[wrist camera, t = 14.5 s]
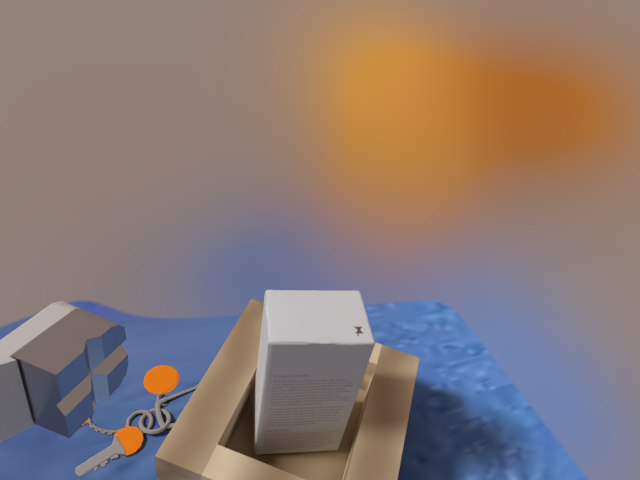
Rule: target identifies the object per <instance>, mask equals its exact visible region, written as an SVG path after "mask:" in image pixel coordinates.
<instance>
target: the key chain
mask: <svg viewBox="0 0 640 480" xmlns="http://www.w3.org/2000/svg"><path fill="white" fill-rule="evenodd" d="M178 382H179V375H178V372H177V371H176V370H175V369H174V368H173V367H170V366H168V365H160V366H156V367H154V368H152V369H151V370H149V371H148V372H147V374H146V375H145V377H144V386H145V388H146V389H147V390H148V391H149V392H151V393H154V394H159V395H158V396H157V401H156V402H155V408H154V409H150V410H148V411H146V410H138V411H135V412H134V413H132V414H131V415H130V416H129V417H128V419H127V420H126V427H125V428H122V429H120V430H115V431H113V430H108V431H107V430H105V429H101V428H99V427H98V426H97V427H96V426H95V424H94V423H91V420H90V418H89V419H88V420H87V421H86V422H85V423H84V424H83V425H82V426H84V425H85V424H86V423H87V424H90V425H89V426H90V427H91V428H94V430H95V431H97V432H98V431H100V433H102V434H105V433H107V435H112V434H113V433H115V434H114V439H113V442H112V445H110V446H109V447H107V448H106V449H104V450H103V451H101V452H99V453H98V454H96V455H95V456H93V457H92V458H90V459H88V460H87V461H85V462H84V463H82V464H80V465H79V466H77V467H76V468H75V473H76V474H77V475H78V476H82V475H84V474H85V473H87V472H89V471H91V470H92V469H94V470H97V469H98V467H97V466H99V465H101V466H102V467H104V466H105V464H106V463H108V461H107V460H109V459H110V458H111V460H113V459H114V458H115V459H117V458H118V457H119V456H118V455H126V457H127V456H130V455H132V454H135V453H136V452H137V451H138V450H139V449H140V448H141V446H142V443H143V440H144V438H143V434H145V433H147V434H158V433H160V432H162V431H164V430H165V429H170V428H172V427H173V426H174V424H175V423H170V422H171V419H172V418H171V415H170V413H169V412H168V411H167V410H165V409H162V408H160V406H161V405H162V406H167V405H168V404H163V403H165V402H166V401H167V400H170V399H172V398H175V397H177V396H180V395H182V394H185V393H187V392H190V391H192V390H195V389H196V388H197V387H198V385H199V384H198V385H197V386H195V387H192V388H190V389H187V390H185V391H182V392H179V393H177V394H174V395H172V396H169V397H167V398H165V397H164V398H162V399H160V400H159V397H160V396H161V395H165V396H166V395H167V394H165V393H167V392H170V391H171V390H172V389H174V388H175V387H176V385H177V384H178ZM154 412H156V417H157V420H158V423H159V425H160V428H158V429H153V430H150V428H151V427H152V425H153V420H154V419H153V416H152V414H151V413H154ZM141 413H142V414H143V415H142V416H141V417H140V420H139V423H138V424H139V429H138V428H137V427H133V426H130V420H131V419H132V418H133V417H134V416H135V415H137V414H141ZM161 413H164V414H165V415H166V418H167V421H166V423H164V421H163V418H162V414H161ZM147 416H148V417H149V420H150V421H149V425H148V427H147V428H145V427H144V424H143V421H144V419H145V418H146V417H147ZM82 426H81V427H82ZM141 430H142V431H141ZM117 454H118V455H117Z"/></svg>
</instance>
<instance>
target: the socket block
mask: <svg viewBox="0 0 640 480" xmlns="http://www.w3.org/2000/svg"><path fill="white" fill-rule="evenodd" d="M263 307H264V303H262V302H259V301H256V300H254V299H251V300H250V302H249V304H248V305H247V307H246V308H245V310H244V312H243V313H242V315H241V317H240V318H239V320H238V321H237V323H236V325H235V326H234V328H233V330H232V331H231V333H230V335H229V336H228V338H227V339H226V341H225V343H224V344H223V346H222V348H221V349H220V351H219V352H218V354H217V356H216V357H215V359H214V361H213V362H212V364H211V365H210V367H209V369H208V370H207V372H206V374H205V375H204V377H203V378H202V380H201V382H200V383H199V385H198V387H197V388H196V390H195V392H194V393H193V395H192V396H191V398H190V400H189V401H188V403H187V405H186V406H185V408H184V409H183V411H182V413H181V414H180V416H179V418H178V419H177V421H176V422H175V424H174V426H173V427H172V429H171V431H170V432H169V434H168V435H167V437H166V439H165V440H164V442H163V444H162V445H161V447H160V449H159V450H158V452H157V453H156V455H155V462H156V472H157V480H398V474H399V468H400V463H401V457H402V452H403V446H404V441H405V435H406V430H407V424H408V419H409V413H410V407H411V402H412V396H413V391H414V385H415V380H416V374H417V369H418V363H419V357H416V356H413V355H410V354H407V353H404V352H402V351H399V350H396V349H393V348H390V347H387V346H385V345H382V344H379V343H376V342H375V346H374V348H373V351H372V354H371V357H370V359H369V362H368V365H367V368H366V371H365V374H364V377H363V380H362V382H361V385H360V388H359V391H358V394H357V397H356V400H355V403H354V406H353V408H352V411H351V414H350V417H349V420H348V423H347V426H346V428H345V431H344V434H343V437H342V440H341V443H340V446H339V448H338V450H335V451H314V452H296V453H278V454H261V455H255V453H254V435H253V396H254V388H255V379H256V370H257V361H258V352H259V343H260V334H261V325H262V316H263Z"/></svg>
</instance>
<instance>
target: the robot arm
mask: <svg viewBox="0 0 640 480" xmlns="http://www.w3.org/2000/svg"><path fill="white" fill-rule="evenodd" d="M125 340H126V334H125V327H123V326H121V325H118V324H116V323H114V322H111V321H109V320H106V319H104V318H102V317H99V316H97V315H95V314H92V313H90V312H88V311H85V310H83V309H80V308H78V307H75V306H73V305H70V304H68V303H66V302H63V301H59V302H55V303H52V304H50V305H49V306H48V307H46V308H45V309H43V310H42V311H41V312H39V313H38V314H36V315H35V316H34V317H32V318H31V319H29V320H28V321H26V322H25V323H24V324H22V325H21V326H19V327H18V328H17V329H15V330H14V331H12V332H11V333H10V334H8V335H7V336H5V337H4V338H3V339H1V340H0V442H1V441H3V440H5V439H8V438H10V437H12V436H14V435H16V434H18V433H20V432H22V431H24V430H26V429H28V428H30V427H33V426H34V423H35V424H37V425H39V426H42V427H44V428H46V429H49V430H51V431H53V432H56V433H58V434H61V435H63V436H65V437H68V438H70V437H71V436H72V435H73V434H74V433H75V432H76V431H77V430H78V429H79V428H80V427H81V426H82V425H83V424H84V423H85V422H86V421H87V420H88V419H89V418H90V417H91V416H92V415H93V414H94V409H95V402H97V401H100V400H102V399H105V398H108V397H110V396H111V395H112V393H113V392H114V391H115V390H116V389H117V388H118V387H119V386H120V384H121V382H122V380H123V378H124V376H125V375H126V372H127V367H128V354H127V353H126V351H125V350H124V348H123V347H122V345H121V344H122V343H123V342H124V341H125Z"/></svg>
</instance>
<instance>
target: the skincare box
mask: <svg viewBox="0 0 640 480" xmlns="http://www.w3.org/2000/svg"><path fill="white" fill-rule="evenodd" d="M374 346H375V340H374V337H373V334H372V330H371V327H370V324H369V321H368V317H367V314H366V311H365V307H364V304H363V300H362V297H361V294H360V291H316V290H315V291H312V290H297V291H296V290H266V292H265V298H264V307H263V316H262V325H261V334H260V343H259V352H258V361H257V370H256V379H255V388H254V396H253V435H254V453H255V455H261V454H278V453H296V452H314V451H335V450H338V448H339V446H340V443H341V440H342V437H343V434H344V431H345V428H346V426H347V423H348V420H349V417H350V414H351V411H352V408H353V406H354V403H355V400H356V397H357V394H358V391H359V388H360V385H361V382H362V380H363V377H364V374H365V371H366V368H367V365H368V362H369V359H370V357H371V354H372V351H373V348H374Z"/></svg>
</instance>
